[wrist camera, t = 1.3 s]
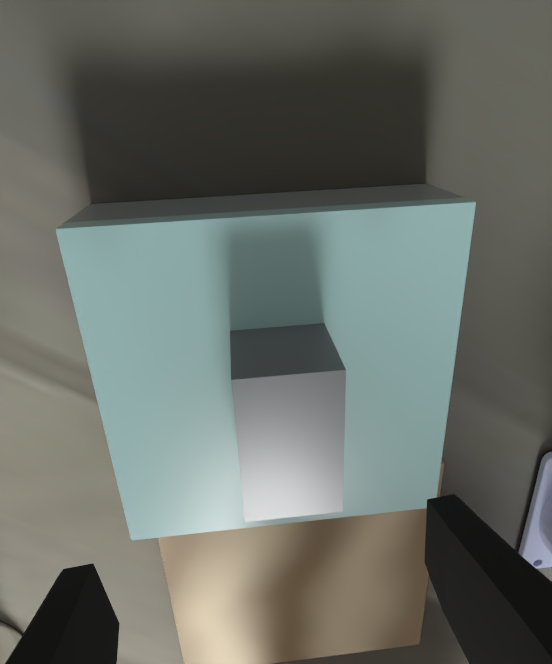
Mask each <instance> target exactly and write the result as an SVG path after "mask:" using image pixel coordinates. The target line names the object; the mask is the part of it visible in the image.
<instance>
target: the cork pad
mask: <svg viewBox="0 0 552 664" xmlns="http://www.w3.org/2000/svg"><path fill="white" fill-rule="evenodd" d="M443 471H444V462H443V460H441V467H440V475H439V482H438V490H437V497H440V492H441V485H442V478H443ZM437 497H436V498H437ZM426 513H427V508H423V509H414V510H405V511H396V512H387V513H378V514H368V515H359V516H350V517H341V518H332V519H323V520H314V521H305V522H295V523H286V524H277V525H268V526H259V527H250V528H241V529H231V530H222V531H213V532H204V533H195V534H186V535H177V536H168V537H158V541H159V546H160V550H161V555H162V560H163V565H164V570H165V574H166V579H167V584H168V589H169V593H170V598H171V603H172V608H173V613H174V617H175V622H176V627H177V632H178V636H179V641H180V646H181V651H182V656H183V660H184V664H273V663H281V662H289V661H296V660H304V659H312V658H319V657H327V656H335V655H343V654H350V653H358V652H366V651H373V650H381V649H389V648H397V647H404V646H412V645H419V644H420V637H421V630H422V623H423V615H424V608H425V601H426V594H427V586H428V579H429V573H428V570H427V568H426V565H425V562H424V560H425V536H426Z"/></svg>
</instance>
